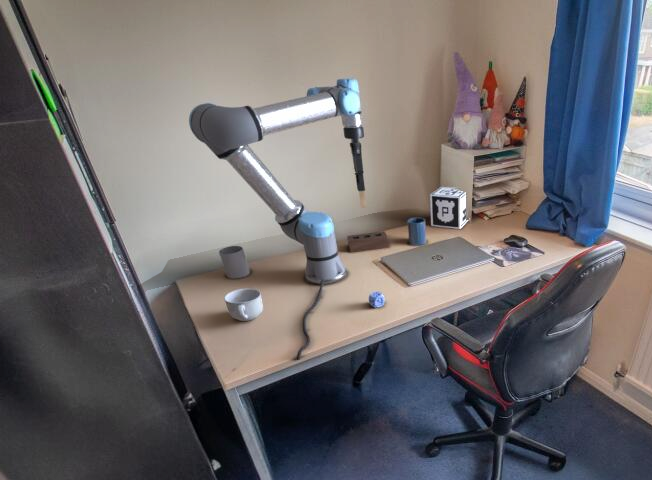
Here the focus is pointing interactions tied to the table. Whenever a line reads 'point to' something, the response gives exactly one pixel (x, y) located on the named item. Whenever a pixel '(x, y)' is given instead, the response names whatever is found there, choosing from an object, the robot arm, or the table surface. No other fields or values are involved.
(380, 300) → the decorative dice
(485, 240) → the table surface
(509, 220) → the table surface
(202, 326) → the table surface
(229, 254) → the cup
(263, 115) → the robot arm
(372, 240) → the caddy
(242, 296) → the teacup
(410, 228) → the coffee cup
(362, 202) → the stirrer
